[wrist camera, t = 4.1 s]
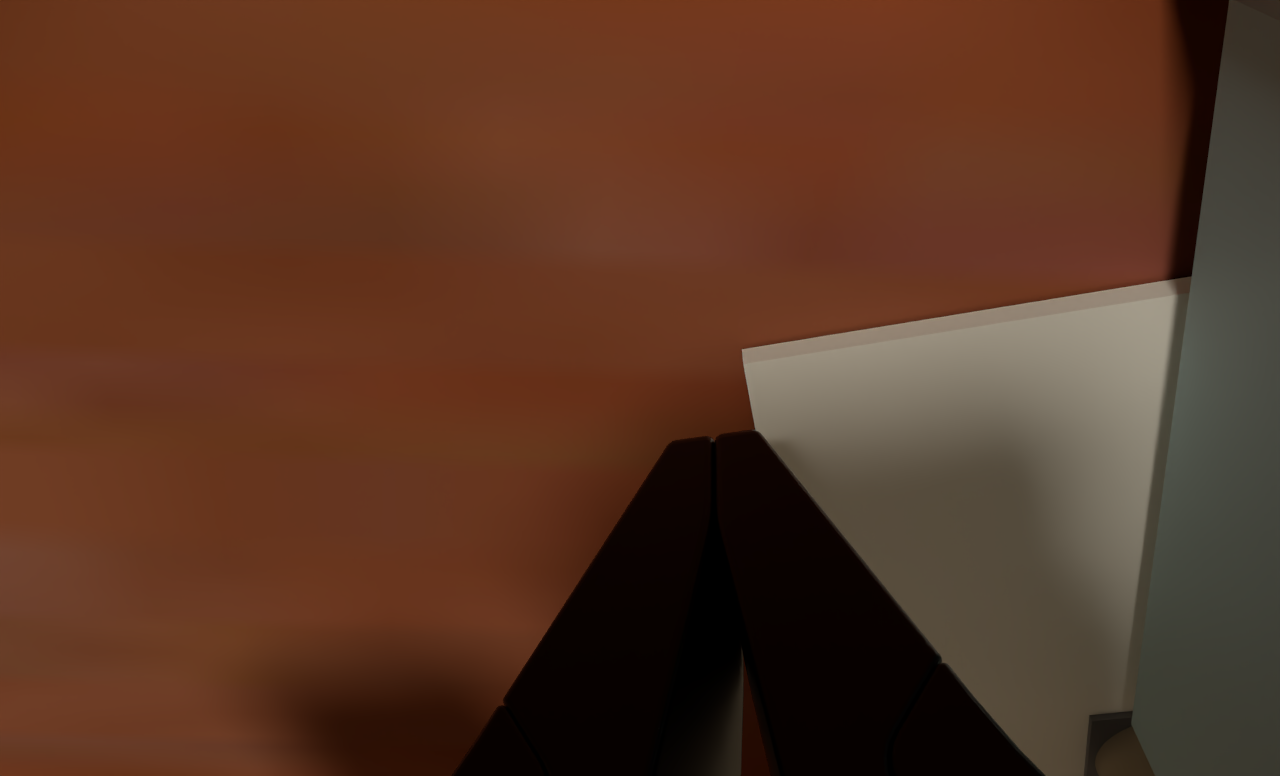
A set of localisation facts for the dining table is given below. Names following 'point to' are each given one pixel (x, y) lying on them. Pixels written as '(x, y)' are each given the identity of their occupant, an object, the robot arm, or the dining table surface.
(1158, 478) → the card
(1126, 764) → the fence fixed
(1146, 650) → the fence flap
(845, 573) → the robot arm
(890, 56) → the dining table surface
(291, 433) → the dining table surface
